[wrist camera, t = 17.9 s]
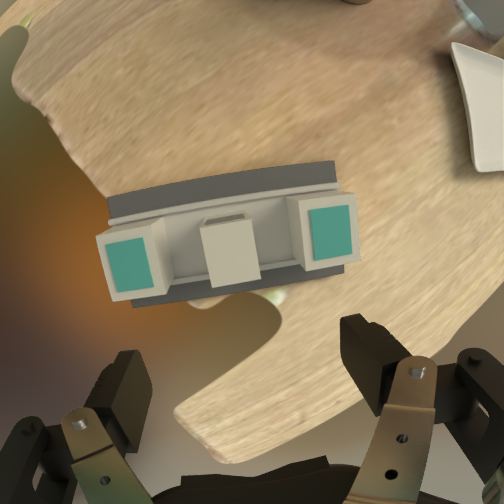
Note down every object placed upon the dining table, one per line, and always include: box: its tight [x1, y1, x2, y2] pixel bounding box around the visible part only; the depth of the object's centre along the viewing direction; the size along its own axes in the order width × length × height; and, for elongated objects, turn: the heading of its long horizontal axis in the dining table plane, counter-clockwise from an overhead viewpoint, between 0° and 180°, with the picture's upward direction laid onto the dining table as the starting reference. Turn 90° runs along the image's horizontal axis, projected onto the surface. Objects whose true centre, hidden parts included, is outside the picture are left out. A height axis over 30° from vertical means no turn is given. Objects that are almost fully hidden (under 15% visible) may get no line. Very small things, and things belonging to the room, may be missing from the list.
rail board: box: [96, 161, 361, 308], centre depth 33 cm, size 14×27×8 cm, turn 98°
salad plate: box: [450, 42, 504, 173], centre depth 34 cm, size 21×21×3 cm
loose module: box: [200, 209, 261, 288], centre depth 31 cm, size 6×4×8 cm
